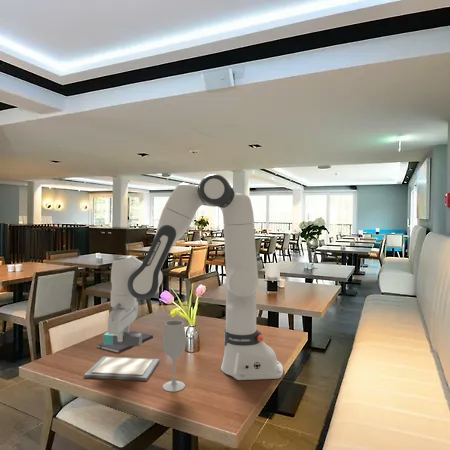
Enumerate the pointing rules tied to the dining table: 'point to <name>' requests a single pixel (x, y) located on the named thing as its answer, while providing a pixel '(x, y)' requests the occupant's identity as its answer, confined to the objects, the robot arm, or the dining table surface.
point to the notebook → (122, 347)
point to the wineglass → (174, 349)
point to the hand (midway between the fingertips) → (123, 338)
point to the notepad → (122, 368)
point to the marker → (129, 339)
